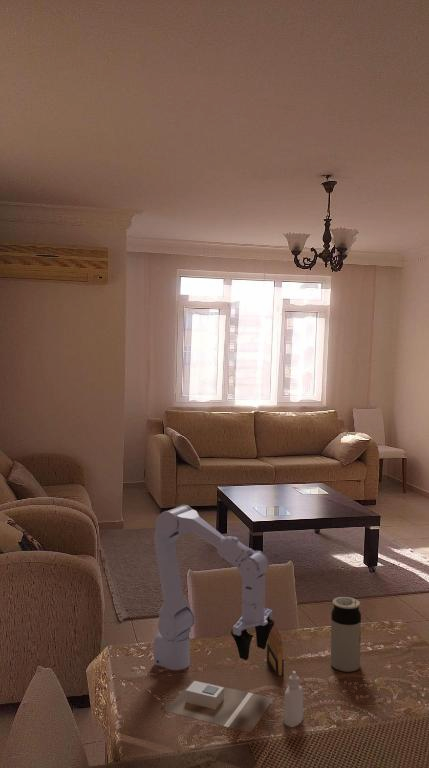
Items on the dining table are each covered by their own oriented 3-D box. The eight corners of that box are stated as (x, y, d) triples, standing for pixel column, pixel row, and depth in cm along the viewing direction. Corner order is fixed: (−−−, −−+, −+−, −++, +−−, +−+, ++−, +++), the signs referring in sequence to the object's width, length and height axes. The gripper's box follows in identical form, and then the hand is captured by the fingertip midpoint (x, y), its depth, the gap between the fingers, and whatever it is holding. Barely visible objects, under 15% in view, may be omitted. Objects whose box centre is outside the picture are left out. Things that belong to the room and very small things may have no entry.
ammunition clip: (283, 678, 175) (284, 634, 174) (277, 679, 175) (277, 635, 174) (273, 660, 186) (273, 618, 185) (266, 660, 185) (267, 618, 185)
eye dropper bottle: (278, 719, 156) (278, 670, 155) (298, 714, 158) (299, 665, 158) (288, 729, 152) (288, 678, 151) (308, 723, 154) (309, 673, 154)
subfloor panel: (164, 714, 158) (164, 710, 158) (193, 683, 172) (193, 679, 172) (250, 737, 149) (250, 733, 149) (273, 702, 164) (273, 698, 164)
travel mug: (327, 669, 180) (328, 604, 179) (333, 656, 188) (334, 594, 187) (357, 675, 177) (358, 609, 176) (362, 661, 185) (363, 598, 184)
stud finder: (185, 702, 162) (185, 689, 161) (194, 692, 166) (194, 680, 166) (215, 709, 158) (215, 696, 158) (223, 699, 163) (223, 686, 163)
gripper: (249, 614, 160) (248, 668, 160) (282, 596, 171) (281, 647, 172) (226, 606, 164) (225, 659, 165) (260, 589, 175) (259, 639, 176)
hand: (252, 653), depth 169 cm, fingers open, 7 cm apart
